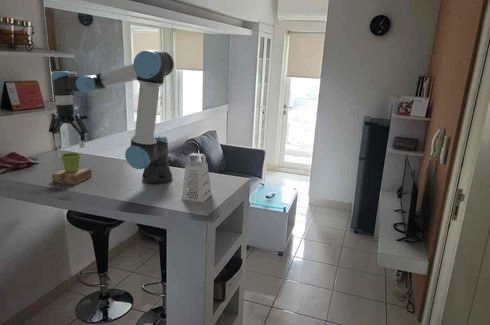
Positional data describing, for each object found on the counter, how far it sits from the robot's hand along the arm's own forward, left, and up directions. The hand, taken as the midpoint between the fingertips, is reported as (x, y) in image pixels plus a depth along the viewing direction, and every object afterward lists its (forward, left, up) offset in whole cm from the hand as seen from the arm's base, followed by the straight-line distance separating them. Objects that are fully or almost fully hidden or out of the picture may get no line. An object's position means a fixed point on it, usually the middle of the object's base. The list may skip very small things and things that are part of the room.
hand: (70, 146), depth 185 cm
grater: (-69, +6, -17) cm, 71 cm away
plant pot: (0, 0, -13) cm, 13 cm away
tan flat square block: (0, 0, -17) cm, 17 cm away
